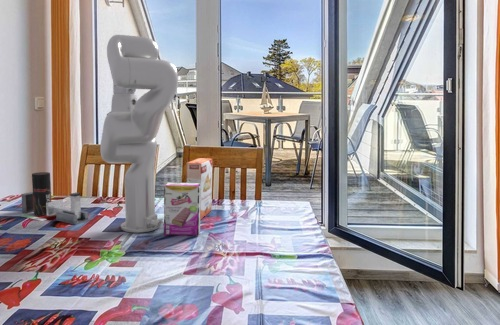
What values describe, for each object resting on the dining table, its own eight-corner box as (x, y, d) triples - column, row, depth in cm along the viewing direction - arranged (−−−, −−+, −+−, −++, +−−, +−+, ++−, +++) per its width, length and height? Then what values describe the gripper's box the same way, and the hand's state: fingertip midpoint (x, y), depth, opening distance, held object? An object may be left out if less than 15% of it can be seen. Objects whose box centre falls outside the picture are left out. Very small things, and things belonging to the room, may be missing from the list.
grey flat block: (41, 209, 159) (40, 191, 158) (26, 213, 154) (25, 194, 153) (37, 208, 160) (36, 191, 159) (22, 212, 155) (21, 193, 154)
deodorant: (46, 215, 151) (44, 175, 149) (30, 215, 151) (28, 174, 149) (55, 211, 157) (53, 172, 155) (39, 211, 157) (37, 171, 155)
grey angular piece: (85, 217, 148) (84, 192, 146) (70, 221, 142) (69, 195, 141) (61, 212, 153) (60, 188, 152) (46, 215, 148) (45, 191, 147)
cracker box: (201, 221, 149) (201, 163, 146) (185, 219, 150) (185, 162, 147) (212, 211, 162) (213, 158, 159) (197, 210, 163) (198, 157, 160)
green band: (62, 210, 158) (62, 210, 158) (30, 218, 147) (30, 218, 147) (52, 208, 161) (52, 207, 161) (20, 216, 150) (20, 215, 150)
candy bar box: (163, 236, 131) (163, 185, 129) (166, 231, 136) (165, 182, 134) (199, 236, 132) (199, 185, 129) (200, 231, 137) (200, 182, 134)
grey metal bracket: (90, 220, 147) (90, 212, 146) (75, 224, 141) (75, 216, 141) (71, 216, 151) (71, 208, 151) (55, 220, 146) (55, 212, 145)
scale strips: (73, 212, 156) (73, 212, 156) (41, 221, 144) (41, 220, 144) (62, 210, 158) (62, 210, 158) (30, 218, 147) (30, 218, 147)
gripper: (148, 91, 154) (149, 137, 156) (114, 91, 162) (115, 135, 164) (134, 91, 147) (135, 139, 150) (99, 90, 155) (100, 136, 158)
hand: (124, 137), depth 157 cm, fingers open, 9 cm apart
